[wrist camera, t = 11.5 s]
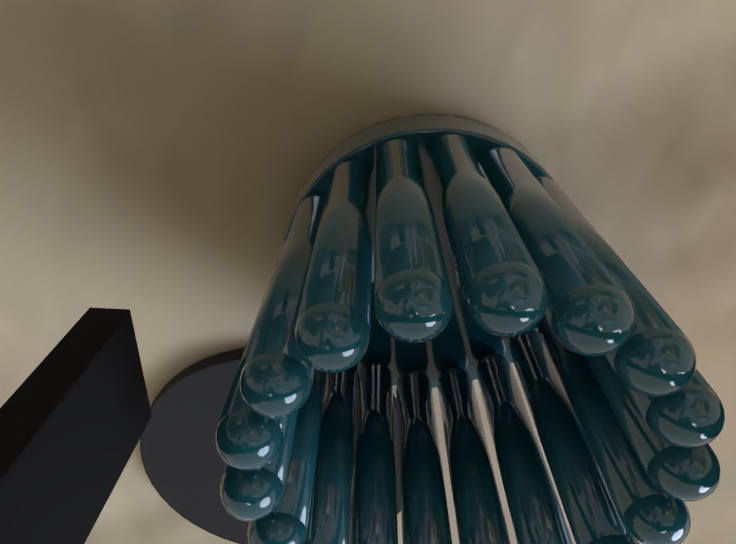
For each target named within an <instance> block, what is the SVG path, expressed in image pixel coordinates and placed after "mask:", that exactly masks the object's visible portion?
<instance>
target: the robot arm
mask: <svg viewBox="0 0 736 544" xmlns="http://www.w3.org/2000/svg"><path fill="white" fill-rule="evenodd" d="M151 416H152V414H151V409H150V404H149V400H148V395H147V390H146V385H145V380H144V376H143V371H142V366H141V361H140V356H139V352H138V347H137V342H136V337H135V332H134V328H133V323H132V318H131V313H130V310H126V309H105V308H89V310H88V311H87V312H86V313H85V314H84V315H83V316H82V317H81V319H80V320H79V321H78V322H77V323H76V324H75V325H74V326H73V327H72V329H71V330H70V331H69V332H68V333H67V334H66V335H65V336H64V338H63V339H62V340H61V341H60V342H59V343H58V344H57V345H56V347H55V348H54V349H53V350H52V351H51V352H50V353H49V354H48V355H47V357H46V358H45V359H44V360H43V361H42V362H41V363H40V364H39V366H38V367H37V368H36V369H35V370H34V371H33V372H32V373H31V375H30V376H29V377H28V378H27V379H26V380H25V381H24V382H23V384H22V385H21V386H20V387H19V388H18V389H17V390H16V391H15V392H14V394H13V395H12V396H11V397H10V398H9V399H8V400H7V401H6V403H5V404H4V405H3V406H2V407H1V408H0V544H84V543H85V541H86V539H87V537H88V536H89V534H90V532H91V530H92V528H93V526H94V524H95V522H96V520H97V519H98V517H99V515H100V513H101V511H102V509H103V507H104V505H105V503H106V501H107V500H108V498H109V496H110V494H111V492H112V490H113V488H114V486H115V484H116V483H117V481H118V479H119V477H120V475H121V473H122V471H123V469H124V467H125V466H126V464H127V462H128V460H129V458H130V456H131V454H132V452H133V450H134V449H135V447H136V445H137V443H138V441H139V439H140V437H141V435H142V433H143V432H144V430H145V428H146V426H147V424H148V422H149V420H150V418H151Z"/></svg>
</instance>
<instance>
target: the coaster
mask: <svg viewBox="0 0 736 544" xmlns="http://www.w3.org/2000/svg"><path fill="white" fill-rule="evenodd" d="M244 350H245V349H242V350H236V351H231V352H227V353H223V354H219V355H216V356H213V357H210V358H208V359H205V360H202V361H200V362H198V363H196V364H194V365H192V366H191V367H189V368H187V369H185V370H184V371H183V372H181V373H180V374H178V375H177V376H176V377H174V378H173V379H172V380H171V381H170V382H169V383H168V384H167V385H166V386H165V387H164V388H163V389H162V390H161V392H160V393H159V394H158V396H157V397H156V399H155V400H154V402H153V404H152V406H151V408H150V409H151V414H152V416H151V418H150V420H149V422H148V424H147V426H146V428H145V430H144V432H143V433H142V435H141V442H140V449H141V456H142V462H143V465H144V468H145V471H146V473H147V475H148V477H149V479H150V481H151V483H152V485H153V486H154V488H155V489H156V490H157V492H158V493H159V495H160V496H161V497H162V498H163V499H164V500H165V501H166V502H167V503H168V504H169V505H170V507H172V508H173V509H174V510H175V511H176V512H178V513H179V514H180V515H181V516H182V517H184V518H185V519H187V520H188V521H190V522H191V523H193V524H194V525H196V526H198V527H200V528H202V529H204V530H205V531H207V532H209V533H212V534H214V535H216V536H219V537H221V538H223V539H226V540H229V541H232V542H235V543H239V544H249V543H248V535H247V533H248V525H249V521H242V520H239V519H237V518H235V517H234V516H232V515H231V514H230V513H229V512H228V511H227V510H226V508H225V507H224V505H223V503H222V500H221V496H220V485H221V480H222V477H223V474H224V470H225V467H226V464H227V463H226V462H225V461H224V460H223V459H222V458H221V456H220V455H219V452H218V450H217V447H216V439H215V437H216V430H217V426H218V423H219V420H220V418H221V415H222V412H223V409H224V406H225V404H226V401H227V398H228V395H229V392H230V390H231V387H232V384H233V381H234V378H235V375H236V373H237V370H238V367H239V364H240V361H241V359H242V356H243V353H244ZM393 413H394V443H395V473H396V502H397V514H398V513H399V512H400V511H401V489H400V465H399V442H398V418H397V399H396V398H395V397H394V396H393Z"/></svg>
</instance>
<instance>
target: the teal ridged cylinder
mask: <svg viewBox="0 0 736 544" xmlns="http://www.w3.org/2000/svg"><path fill="white" fill-rule="evenodd" d="M512 362H513V363H514V366H515V369H516V371H517V374H518V377H519V380H520V383H521V386H522V389H523V392H524V395H525V397H526V400H527V403H528V406H529V409H530V412H531V415H532V418H533V421H534V423H535V426H536V429H537V432H538V435H539V438H540V441H541V444H542V447H543V449H544V452H545V455H546V458H547V461H548V464H549V467H550V470H551V473H552V475H553V478H554V481H555V484H556V487H557V490H558V493H559V496H560V498H561V501H562V504H563V507H564V510H565V513H566V516H567V519H568V522H569V524H570V527H571V530H572V533H573V536H574V539H575V542H576V544H639V542H638V540H639V541H640V542H642V543H644V544H680V543H681V542H682V541H683V540H684V539H685V538H686V537H687V535H688V533H689V530H690V525H691V519H690V513H689V510H688V507H687V505H686V503H685V501H697V500H701V499H704V498H706V497H707V496H709V495H710V494H711V493H712V492H713V491H714V490H715V489H716V487H717V486H718V483H719V480H720V465H719V461H718V459H717V457H716V455H715V453H714V451H713V450H712V448H711V447H710V446H709V443H710V442H712V441H713V440H714V439H715V438H716V437H717V436H718V435H719V434H720V432H721V430H722V428H723V425H724V420H725V414H724V408H723V405H722V402H721V400H720V399H719V397H718V395H717V394H716V393H715V391H714V390H713V389H712V388H711V386H710V385H709V384H708V383H707V381H706V380H705V379H704V378H703V376H702V375H701V374H700V373H699V371H698V370H697V369H696V354H695V351H694V348H693V346H692V344H691V342H690V341H689V339H688V338H687V337H686V335H685V334H684V333H683V332H682V331H681V330H680V328H679V327H678V326H677V325H676V324H675V323H674V321H673V320H672V319H671V318H670V317H669V315H668V314H667V313H666V312H665V311H664V310H663V308H662V307H661V306H660V305H659V304H658V302H657V301H656V300H655V299H654V298H653V297H652V295H651V294H650V293H649V292H648V291H647V289H646V288H645V287H644V286H643V285H642V284H641V282H640V281H639V280H638V279H637V278H636V277H635V275H634V274H633V273H632V272H631V271H630V269H629V268H628V267H627V266H626V265H625V264H624V262H623V261H622V260H621V259H620V258H619V256H618V255H617V254H616V253H615V252H614V251H613V249H612V248H611V247H610V246H609V245H608V243H607V242H606V241H605V240H604V239H603V238H602V236H601V235H600V234H599V233H598V232H597V231H596V229H595V228H594V227H593V226H592V225H591V223H590V222H589V221H588V220H587V219H586V218H585V216H584V215H583V214H582V213H581V212H580V210H579V209H578V208H577V207H576V206H575V205H574V203H573V202H572V201H571V200H570V199H569V197H568V196H567V195H566V194H565V193H564V192H563V190H562V189H561V188H560V187H559V186H558V185H557V183H556V182H555V181H554V180H553V179H552V177H551V176H550V175H549V174H548V173H547V172H546V170H545V169H544V168H543V167H542V166H541V165H540V163H539V162H538V161H537V160H536V159H535V158H534V157H533V156H532V155H531V154H530V153H529V151H528V150H527V149H525V148H524V147H523V146H522V145H520V144H519V143H518V142H517V141H515V140H514V139H513V138H511V137H510V136H508V135H506V134H504V133H503V132H501V131H499V130H498V129H496V128H493V127H491V126H488V125H486V124H483V123H481V122H478V121H475V120H471V119H467V118H463V117H459V116H450V115H441V114H427V115H413V116H407V117H401V118H396V119H393V120H389V121H386V122H382V123H379V124H377V125H374V126H372V127H370V128H368V129H365V130H363V131H361V132H359V133H357V134H356V135H354V136H353V137H351V138H349V139H348V140H346V141H344V142H343V143H342V144H341V145H339V146H338V147H337V148H336V149H334V150H333V151H332V152H331V153H330V154H328V155H327V157H326V158H325V159H324V160H323V161H322V162H321V163H320V164H319V165H318V166H317V167H316V169H315V170H314V171H313V173H312V174H311V176H310V177H309V179H308V180H307V181H306V183H305V185H304V187H303V189H302V191H301V193H300V195H299V197H298V199H297V202H296V204H295V207H294V210H293V213H292V216H291V218H290V221H289V224H288V227H287V230H286V233H285V238H284V243H283V245H282V247H281V249H280V252H279V255H278V258H277V260H276V263H275V266H274V269H273V272H272V274H271V277H270V280H269V283H268V286H267V288H266V291H265V294H264V297H263V300H262V303H261V305H260V308H259V311H258V314H257V317H256V319H255V322H254V325H253V328H252V331H251V333H250V336H249V339H248V342H247V345H246V347H245V350H244V353H243V356H242V359H241V361H240V364H239V367H238V370H237V373H236V375H235V378H234V381H233V384H232V387H231V390H230V392H229V395H228V398H227V401H226V404H225V406H224V409H223V412H222V415H221V418H220V420H219V423H218V426H217V430H216V437H215V439H216V447H217V450H218V452H219V455H220V456H221V458H222V459H223V460H224V461H225V462H226V463H227V464H226V467H225V470H224V474H223V477H222V480H221V485H220V496H221V500H222V503H223V505H224V507H225V508H226V510H227V511H228V512H229V513H230V514H231V515H232V516H234V517H235V518H237V519H239V520H242V521H249V525H248V533H247V535H248V543H249V544H398V532H397V502H396V473H395V443H394V413H393V385H396V394H397V418H398V442H399V465H400V489H401V512H402V536H403V544H452V539H451V531H450V524H449V516H448V508H447V500H446V493H445V485H444V477H443V469H442V461H441V454H440V446H439V438H438V430H437V423H436V415H435V407H434V399H433V392H432V387H437V388H438V395H439V402H440V409H441V416H442V423H443V430H444V437H445V444H446V451H447V458H448V465H449V472H450V479H451V486H452V493H453V500H454V507H455V514H456V521H457V529H458V536H459V543H460V544H510V540H509V535H508V531H507V527H506V522H505V518H504V514H503V510H502V505H501V501H500V497H499V492H498V488H497V484H496V479H495V475H494V471H493V466H492V462H491V458H490V453H489V449H488V445H487V440H486V436H485V432H484V427H483V423H482V419H481V414H480V410H479V406H478V401H477V397H476V393H475V388H474V384H473V380H475V379H478V383H479V387H480V391H481V395H482V400H483V404H484V408H485V412H486V416H487V420H488V424H489V428H490V432H491V436H492V441H493V445H494V449H495V453H496V457H497V461H498V465H499V469H500V473H501V477H502V482H503V486H504V490H505V494H506V498H507V502H508V506H509V510H510V514H511V519H512V523H513V527H514V531H515V535H516V539H517V543H518V544H573V543H572V540H571V537H570V534H569V531H568V528H567V525H566V522H565V519H564V516H563V514H562V511H561V508H560V505H559V502H558V499H557V496H556V493H555V490H554V487H553V484H552V481H551V478H550V475H549V472H548V469H547V467H546V464H545V461H544V458H543V455H542V452H541V449H540V446H539V443H538V440H537V437H536V434H535V431H534V428H533V425H532V422H531V420H530V417H529V414H528V411H527V408H526V405H525V402H524V399H523V396H522V393H521V390H520V387H519V384H518V381H517V378H516V375H515V373H514V370H513V367H512V364H511V363H512ZM637 539H638V540H637Z"/></svg>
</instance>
